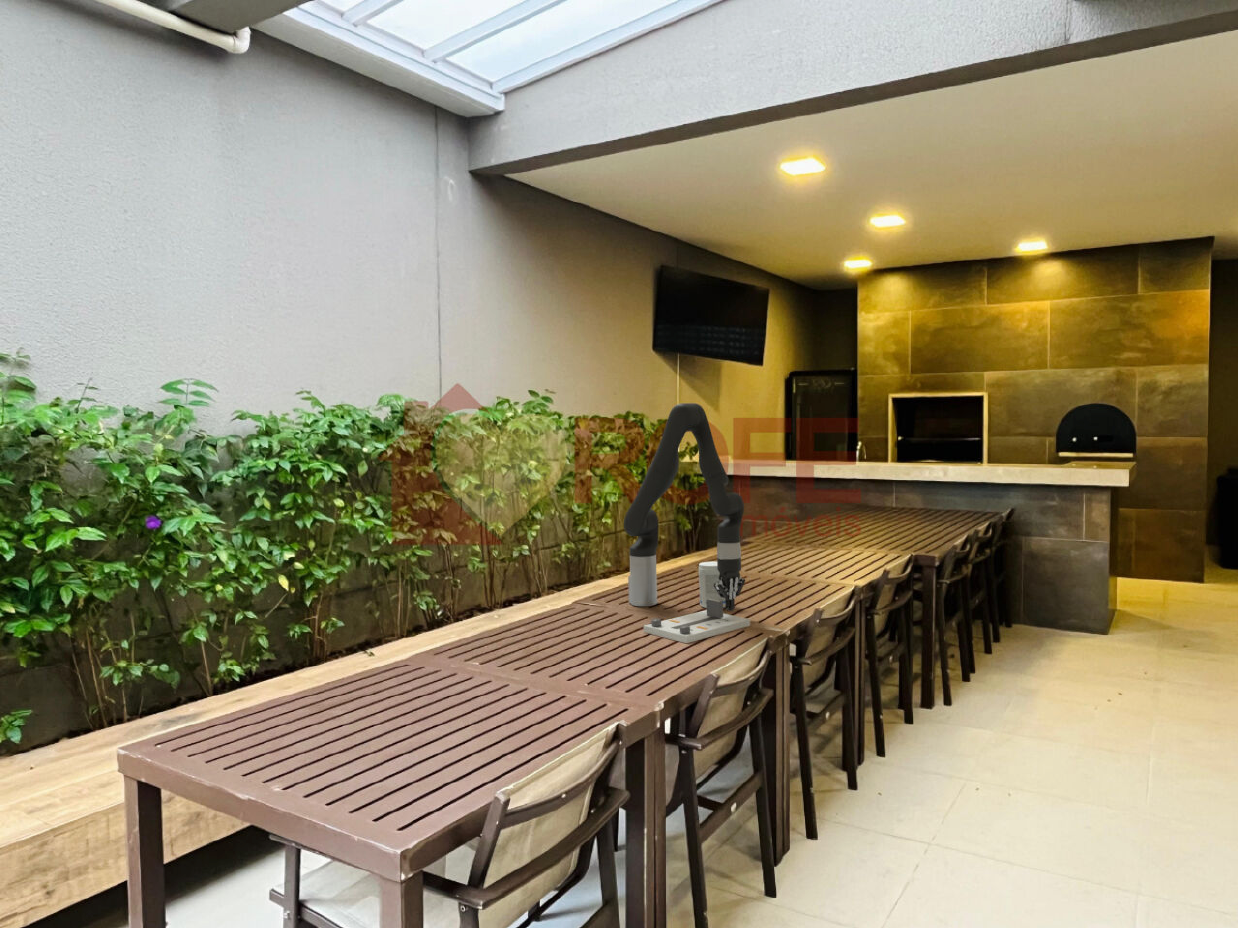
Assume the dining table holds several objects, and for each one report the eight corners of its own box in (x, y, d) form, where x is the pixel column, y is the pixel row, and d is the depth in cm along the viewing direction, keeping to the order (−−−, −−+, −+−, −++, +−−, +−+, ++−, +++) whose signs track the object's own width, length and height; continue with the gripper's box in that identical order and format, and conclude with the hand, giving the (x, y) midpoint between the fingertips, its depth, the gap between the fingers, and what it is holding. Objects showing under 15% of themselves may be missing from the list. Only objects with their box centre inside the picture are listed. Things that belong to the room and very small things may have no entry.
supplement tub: (733, 605, 281) (732, 563, 280) (715, 610, 274) (715, 567, 274) (711, 601, 288) (710, 560, 287) (693, 606, 281) (693, 563, 281)
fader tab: (706, 615, 258) (706, 599, 257) (711, 614, 259) (710, 598, 259) (718, 618, 254) (718, 601, 254) (723, 617, 255) (722, 600, 255)
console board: (643, 632, 249) (643, 619, 249) (707, 616, 267) (706, 604, 267) (686, 643, 235) (686, 630, 235) (750, 625, 254) (749, 613, 254)
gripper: (733, 552, 267) (734, 605, 268) (705, 557, 259) (707, 612, 260) (751, 554, 262) (752, 608, 263) (723, 560, 253) (725, 615, 254)
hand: (730, 610), depth 261 cm, fingers closed
